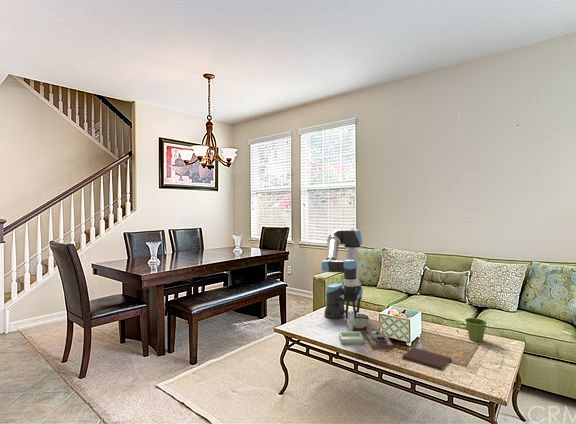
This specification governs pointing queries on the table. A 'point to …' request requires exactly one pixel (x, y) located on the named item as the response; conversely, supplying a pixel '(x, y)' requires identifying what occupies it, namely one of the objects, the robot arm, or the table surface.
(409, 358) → the notebook
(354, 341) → the tray
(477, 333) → the plant pot
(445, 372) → the table surface
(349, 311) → the pin
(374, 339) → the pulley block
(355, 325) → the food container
